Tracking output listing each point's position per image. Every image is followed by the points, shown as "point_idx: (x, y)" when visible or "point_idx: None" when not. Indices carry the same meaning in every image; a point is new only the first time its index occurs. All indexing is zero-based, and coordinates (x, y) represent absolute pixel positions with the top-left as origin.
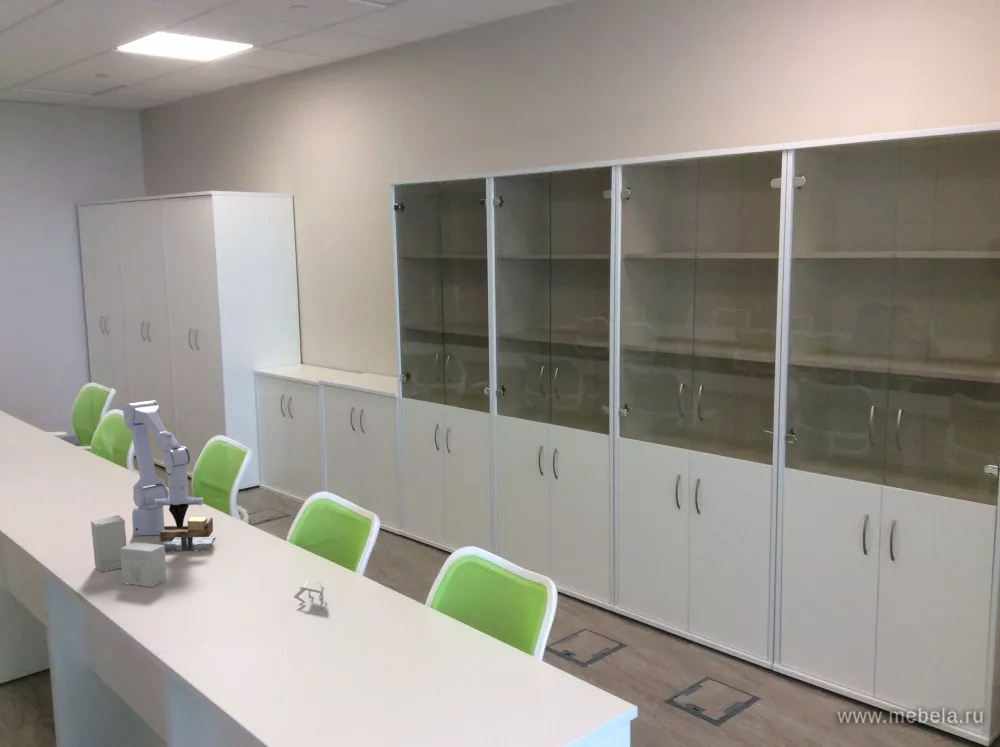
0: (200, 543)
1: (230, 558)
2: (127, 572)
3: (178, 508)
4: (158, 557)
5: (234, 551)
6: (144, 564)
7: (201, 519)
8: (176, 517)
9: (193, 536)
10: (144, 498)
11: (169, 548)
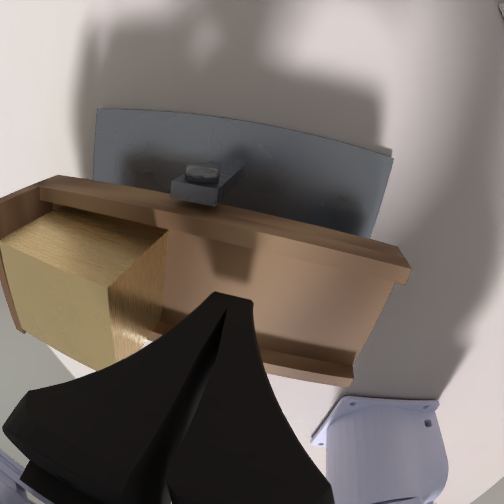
0: None
1: (30, 13)
2: None
3: (100, 476)
4: None
5: (15, 91)
6: None
7: (24, 290)
8: (227, 371)
9: (134, 189)
10: None
11: (321, 183)
